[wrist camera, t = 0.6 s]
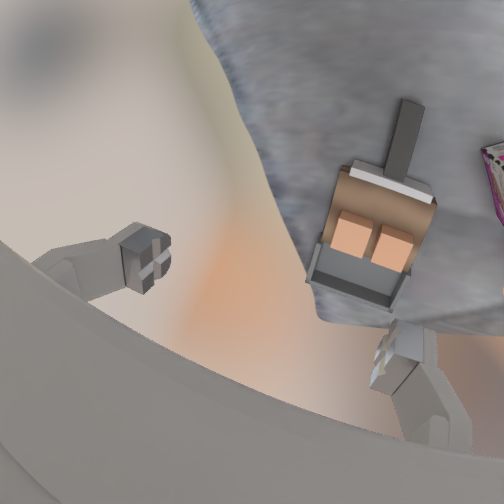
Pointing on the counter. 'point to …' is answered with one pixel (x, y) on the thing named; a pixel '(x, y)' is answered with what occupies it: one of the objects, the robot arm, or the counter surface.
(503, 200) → the candy bar box
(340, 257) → the tray
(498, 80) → the counter surface
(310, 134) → the counter surface
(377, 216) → the board
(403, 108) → the scraper
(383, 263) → the tile
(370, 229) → the tile
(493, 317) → the counter surface
